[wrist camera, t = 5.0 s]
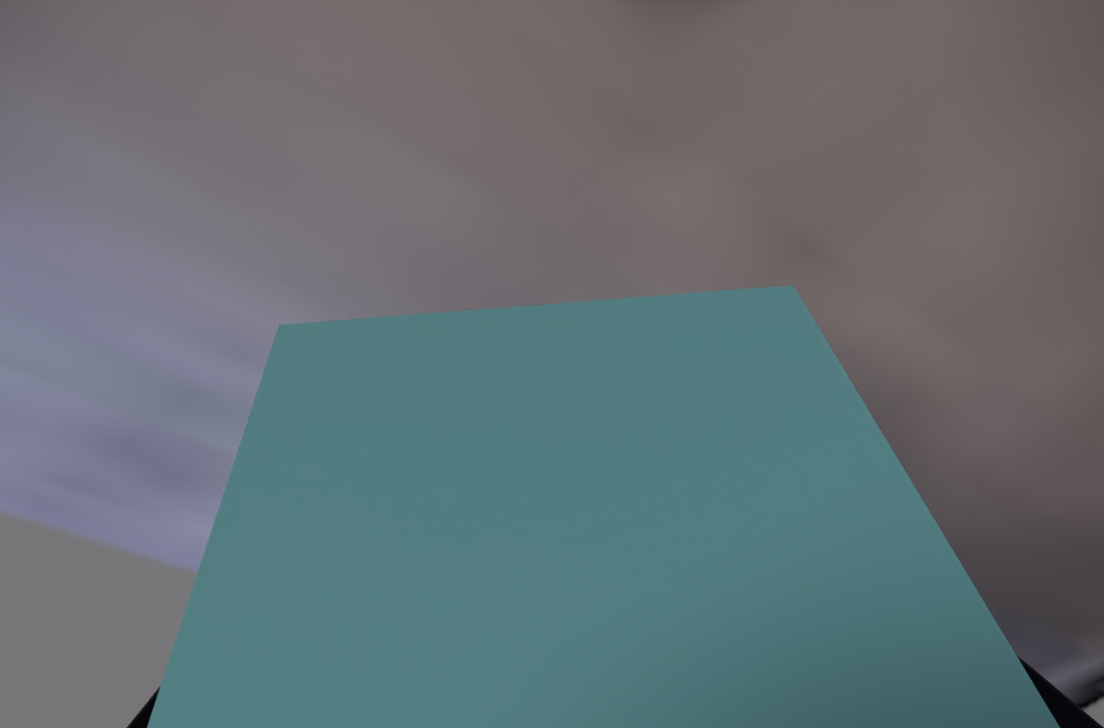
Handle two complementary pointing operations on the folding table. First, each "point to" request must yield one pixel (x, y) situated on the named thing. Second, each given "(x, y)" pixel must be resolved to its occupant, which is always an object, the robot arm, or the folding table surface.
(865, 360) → the folding table surface
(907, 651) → the teal block
